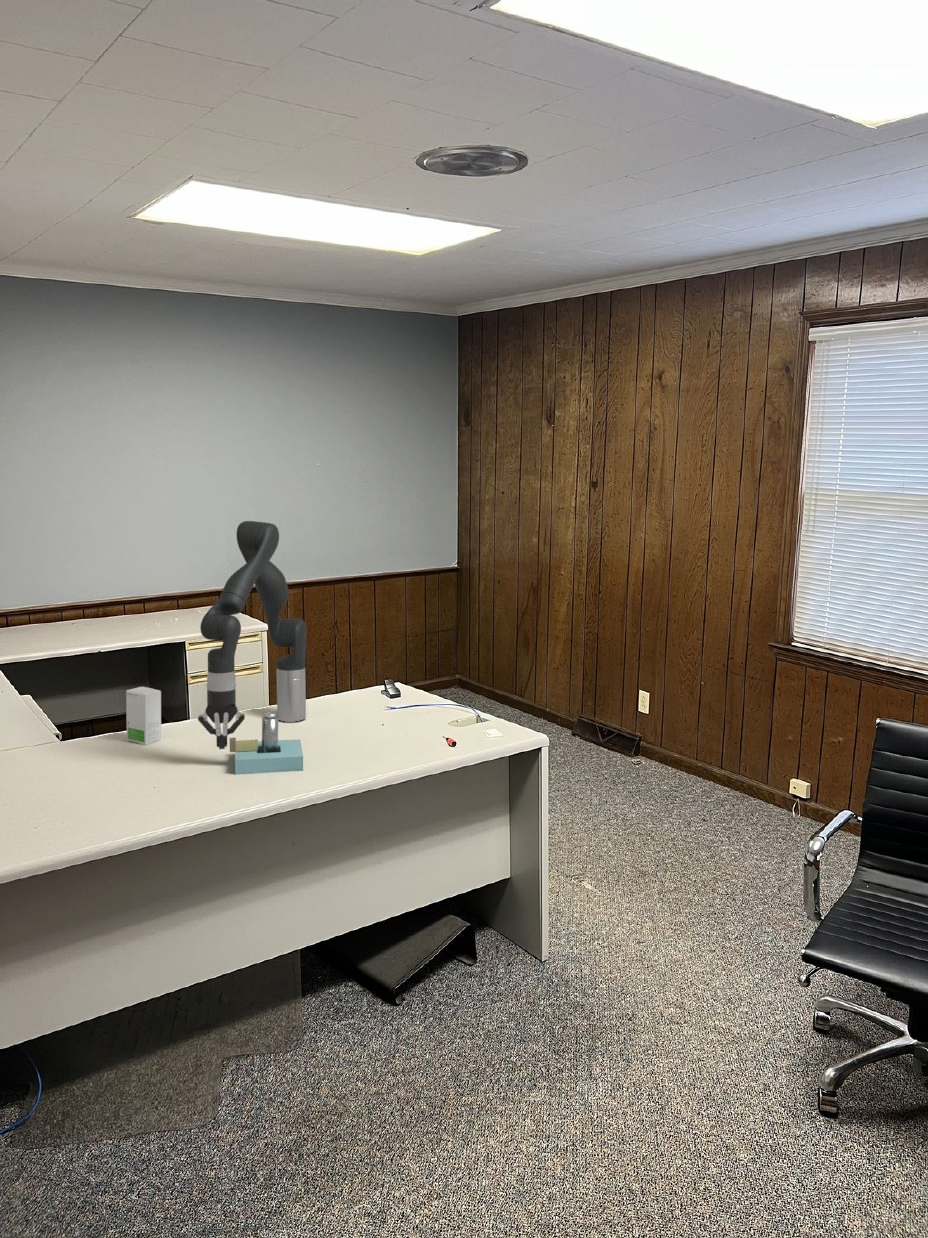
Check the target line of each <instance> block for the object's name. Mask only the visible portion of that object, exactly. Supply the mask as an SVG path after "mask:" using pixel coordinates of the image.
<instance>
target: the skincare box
mask: <svg viewBox="0 0 928 1238" xmlns="http://www.w3.org/2000/svg"><path fill="white" fill-rule="evenodd" d="M125 699H126V701H125V705H126V706H125V708H126V709H125V711H126V741H128V742H132V743H136V742H138V743H137V744H139V745H144V746H146V745H149V743H150V744H152V743H151V742H153V743H156V742H158V741H157V740H159V741H161V740H162V691H161V690H159V689H154V688H153V687H152V688H151V687H146V686H138V687H135V688H130V689H127V690H125ZM160 739H161V740H160ZM155 741H156V742H155Z"/></svg>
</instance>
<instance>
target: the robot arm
mask: <svg viewBox="0 0 928 1238" xmlns="http://www.w3.org/2000/svg"><path fill="white" fill-rule="evenodd" d="M279 540H280V532H279V529H278V527H277V526H276V525H275V524H274V523H270V522H263V521H253V520H245V521H242V522H240V523H239V525H238V526H237V529H236V541H237V546H238V549H239V550H240V553H241V555H242V557H243V559H244V561H245V564H244V565H243V566H241V567H239V568H238V569H237V570H236V571H235V572H234V573H233V574H231V575H230V576H229V578H228V579H227V580H226V581H225V585H224V586H223V587H222V591H221V593H220V596H219V597H218V599H217V600H216V601H215V602H214V603H213V605H212V606H210V608H209V609H208V611H207V612H206V613H205V614H204V616H203V617H202V619H201V622H200V627H199V629H200V633H201V636H202V637H203V638H205V639H206V640H211V641H220V642H222V646H221V647H219V648H218V647H217V648H213V649H211V650H209V651H208V652H207V677H206V708H205V712H203V713H202V714H199V715H198V717H197V720H198V722H199V723H200V724H201V725H202V726H203V728H204V729H205V730H206V731H207V732H208V733H209V734H210V735H215V736H216V747H217V748H218V749H219V750H225V749H226V747H228V735H231V734H233V733H235V732H236V730H237V729H238V727H239V726H240V725H241V724H242V723H243V721H244V720H245V718H246V717H245V716H246V715H245V713H241V712H240V711H238V707H237V705H236V702H237V701H236V700H237V699H236V696H237V695H236V693H237V692H236V688H237V687H236V685H237V683H236V672H235V655H236V651H237V646H238V642H239V639H240V636H241V633H242V625H241V622H240V620H239V618H238V617H237V616H234V615H237V614H240V613H242V612H243V610H244V609H245V608H244V607H245V605H246V603H247V601H248V599H249V596H250V593H251V591H252V590H253V587H254V586H255V589H256V592H257V595H258V598H259V600H260V602H261V603H260V604H261V606H262V609H263V612H264V613H265V617H266V621H267V622H266V623H267V627H268V632H269V635H270V638H271V642H272V643H273V645H275V646H276V647H280V648H293V649H292V652H291V653H290V654H287V655H285V656H281V657H279V658H278V659H276V663H275V664H276V665H275V666H276V667H275V668H276V707H277V710H276V716H277V717H278V721H279V720H281V721H280V722H282V721H285V722H284V723H296V722H295V721H299V722H301V721H300V720H303V719H305V718H306V719H307V706H306V705H307V696H306V694H307V693H306V683H307V682H306V658H307V657H306V654H307V650H306V649H307V624H306V622H305V621H304V620H303V619H299V618H282V617H281V615H280V614H281V612H282V609H284V607H285V605H286V603H287V602H288V599H289V596H290V589H289V587H288V583H287V580H286V577H285V575H284V573H283V572H282V571H281V570H280V569H279V568H278V566H276V565H275V564H274V563H273V562H272V561H270V560H271V559H272V557H273V555H274V554H275V552H276V550H277V548H278V545H279ZM234 717H235V720H234V722H233V723H232V724H231V726H230V727H229V723H230V722H231V721H232V720H233V719H234ZM208 718H209V719H210V720H211V722H212V723H213V724H214V725H215V726H212V724H211V722H209V721H208ZM306 719H305V720H306ZM303 721H304V720H303ZM221 724H222V727H221ZM214 727H215V728H214Z"/></svg>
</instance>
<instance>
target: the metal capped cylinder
mask: <svg viewBox="0 0 928 1238" xmlns="http://www.w3.org/2000/svg"><path fill="white" fill-rule="evenodd" d="M278 740H279V720H278V717H277V712H273V711H269V712H268V711H267V712H265V713H264V716H262V718H261V741H262V753H275V752H278Z"/></svg>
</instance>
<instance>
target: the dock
mask: <svg viewBox="0 0 928 1238" xmlns="http://www.w3.org/2000/svg"><path fill="white" fill-rule="evenodd" d="M301 741H302V740H301V739H298V738H297V739H280V740H279V739H278V752H275V753H262V740H258V750H257V751H238V752H234V753H235V754H234V755H235V756H234V770H235V771H234V772H235V775H247V774H263V773H264V774H265V773H281V772H301V771H304V754H303V748H302V742H301Z"/></svg>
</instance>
